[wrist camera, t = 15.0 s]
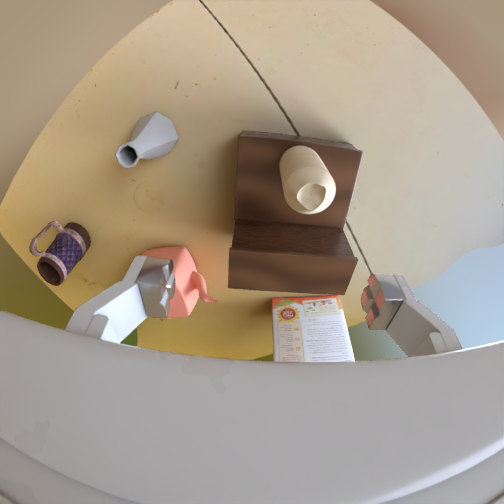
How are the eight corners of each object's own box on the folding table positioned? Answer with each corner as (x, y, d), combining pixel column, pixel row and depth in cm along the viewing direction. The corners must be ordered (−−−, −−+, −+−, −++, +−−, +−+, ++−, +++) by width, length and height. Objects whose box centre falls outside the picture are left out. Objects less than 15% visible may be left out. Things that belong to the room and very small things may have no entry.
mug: (97, 246, 49) (69, 287, 40) (75, 252, 51) (48, 291, 41) (73, 203, 44) (38, 240, 34) (52, 213, 45) (18, 248, 35)
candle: (317, 185, 37) (333, 222, 29) (277, 182, 37) (282, 219, 29) (323, 147, 33) (343, 174, 25) (280, 143, 33) (287, 169, 25)
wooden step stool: (241, 129, 36) (233, 153, 26) (353, 143, 37) (385, 173, 27) (235, 236, 47) (228, 288, 37) (328, 244, 48) (344, 295, 38)
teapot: (126, 247, 49) (105, 284, 41) (216, 237, 47) (207, 278, 39) (146, 290, 56) (132, 328, 48) (228, 285, 54) (223, 327, 46)
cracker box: (271, 315, 59) (273, 404, 43) (271, 296, 56) (273, 391, 39) (334, 313, 59) (351, 398, 42) (339, 294, 55) (360, 384, 38)
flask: (124, 132, 36) (91, 152, 28) (158, 102, 34) (129, 114, 26) (152, 166, 40) (126, 194, 32) (187, 139, 37) (166, 161, 29)
